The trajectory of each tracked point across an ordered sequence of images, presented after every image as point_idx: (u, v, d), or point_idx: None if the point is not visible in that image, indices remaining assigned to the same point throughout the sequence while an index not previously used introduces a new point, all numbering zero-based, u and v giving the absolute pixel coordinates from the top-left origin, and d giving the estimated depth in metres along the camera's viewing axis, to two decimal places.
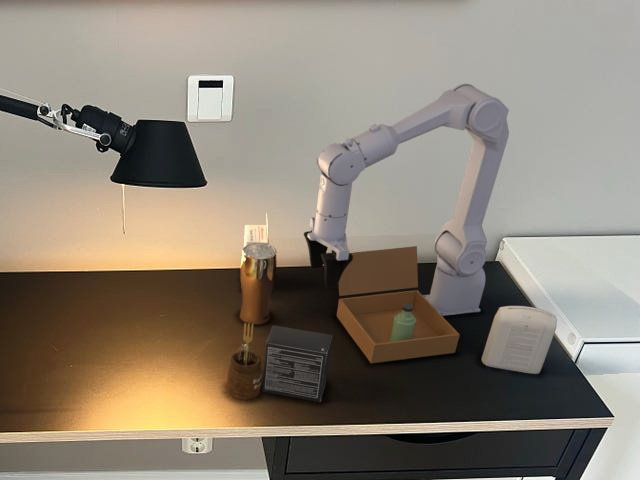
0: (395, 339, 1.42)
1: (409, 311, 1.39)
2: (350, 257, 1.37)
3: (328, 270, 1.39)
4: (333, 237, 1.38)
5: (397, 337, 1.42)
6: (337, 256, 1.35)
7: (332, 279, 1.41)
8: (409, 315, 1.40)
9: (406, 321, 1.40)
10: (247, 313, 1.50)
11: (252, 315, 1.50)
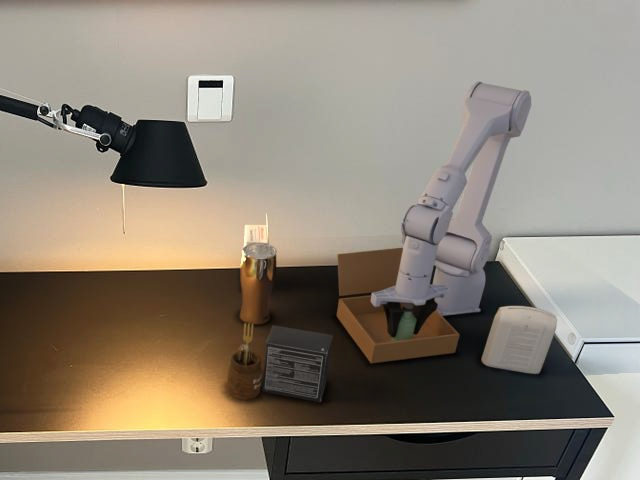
0: (395, 339, 1.42)
1: (409, 311, 1.39)
2: None
3: None
4: None
5: (397, 337, 1.42)
6: (446, 295, 1.39)
7: None
8: (409, 315, 1.40)
9: (406, 321, 1.40)
10: (247, 313, 1.50)
11: (252, 315, 1.50)
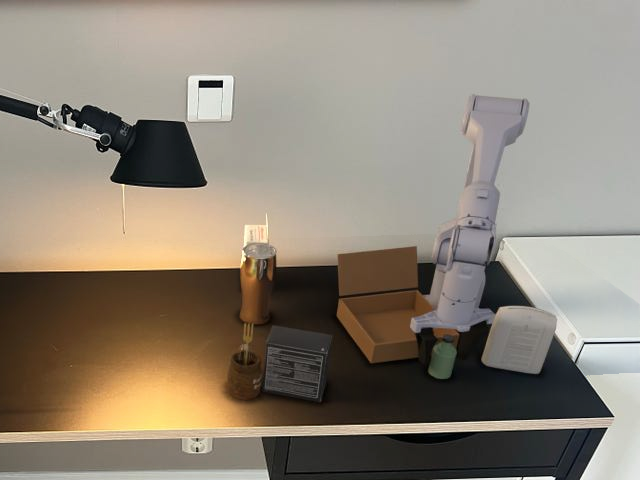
0: (434, 371, 1.35)
1: (450, 342, 1.31)
2: None
3: None
4: None
5: (436, 369, 1.34)
6: (491, 320, 1.30)
7: None
8: (449, 346, 1.32)
9: (446, 353, 1.32)
10: (247, 313, 1.50)
11: (252, 315, 1.50)
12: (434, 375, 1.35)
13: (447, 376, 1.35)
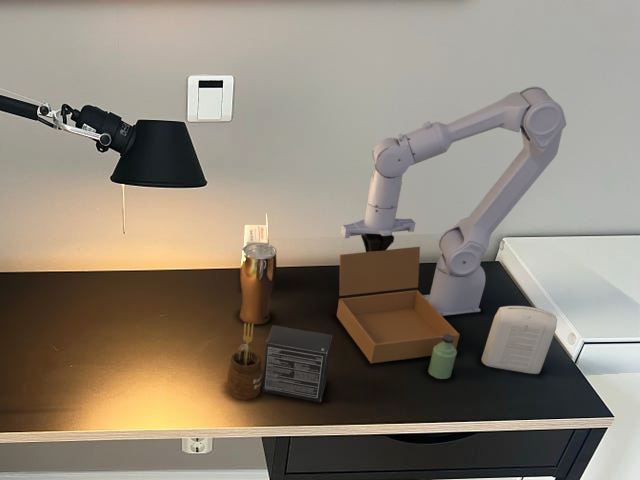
0: (434, 371, 1.35)
1: (450, 342, 1.31)
2: None
3: None
4: None
5: (436, 369, 1.34)
6: (412, 228, 1.48)
7: None
8: (449, 346, 1.32)
9: (446, 353, 1.32)
10: (247, 313, 1.50)
11: (252, 315, 1.50)
12: (434, 375, 1.35)
13: (447, 376, 1.35)
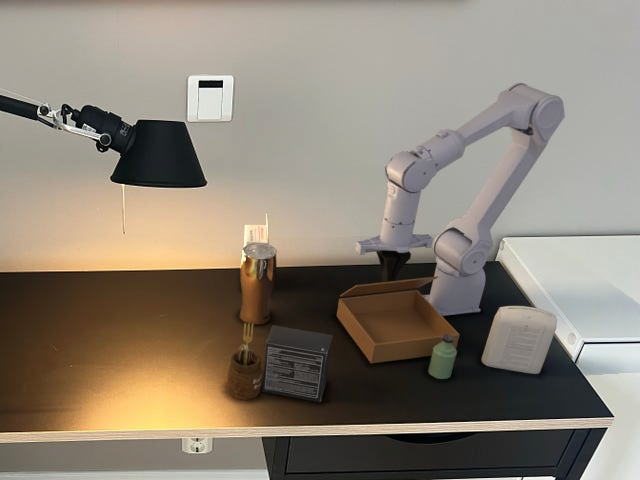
0: (434, 371, 1.35)
1: (450, 342, 1.31)
2: None
3: None
4: None
5: (436, 369, 1.34)
6: (430, 244, 1.42)
7: None
8: (449, 346, 1.32)
9: (446, 353, 1.32)
10: (247, 313, 1.50)
11: (252, 315, 1.50)
12: (434, 375, 1.35)
13: (447, 376, 1.35)
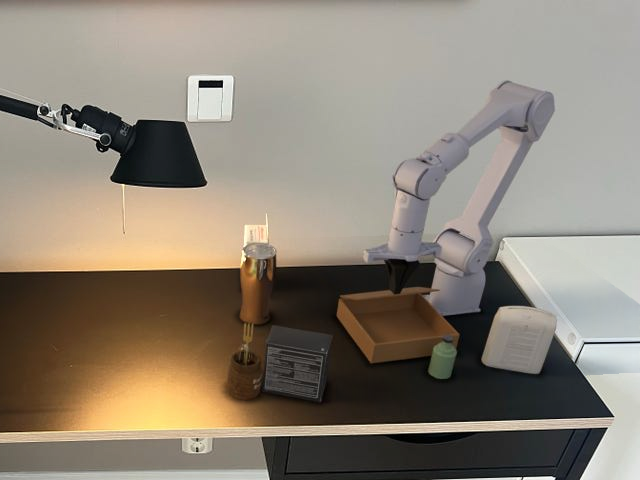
0: (434, 371, 1.35)
1: (450, 342, 1.31)
2: None
3: None
4: None
5: (436, 369, 1.34)
6: (438, 253, 1.40)
7: None
8: (449, 346, 1.32)
9: (446, 353, 1.32)
10: (247, 313, 1.50)
11: (252, 315, 1.50)
12: (434, 375, 1.35)
13: (447, 376, 1.35)
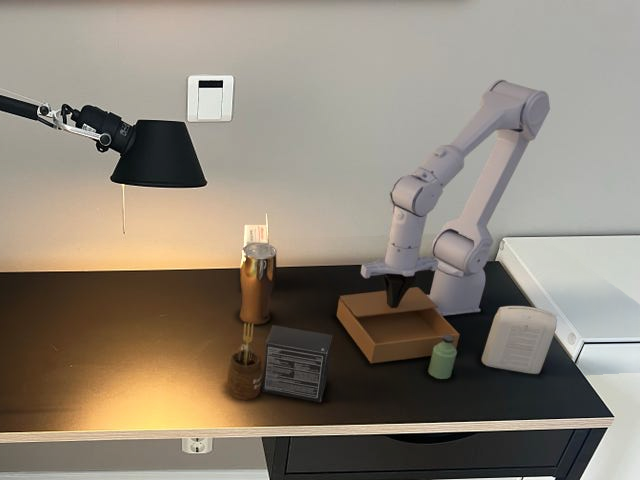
0: (434, 371, 1.35)
1: (450, 342, 1.31)
2: None
3: None
4: None
5: (436, 369, 1.34)
6: (435, 267, 1.41)
7: None
8: (449, 346, 1.32)
9: (446, 353, 1.32)
10: (247, 313, 1.50)
11: (252, 315, 1.50)
12: (434, 375, 1.35)
13: (447, 376, 1.35)
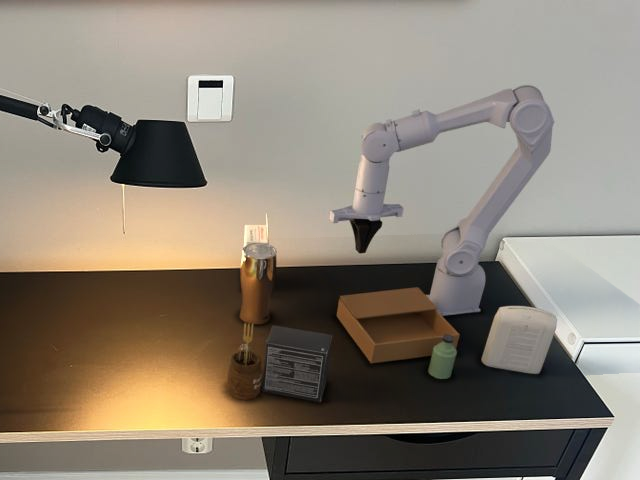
0: (434, 371, 1.35)
1: (450, 342, 1.31)
2: None
3: None
4: None
5: (436, 369, 1.34)
6: (400, 213, 1.49)
7: None
8: (449, 346, 1.32)
9: (446, 353, 1.32)
10: (247, 313, 1.50)
11: (252, 315, 1.50)
12: (434, 375, 1.35)
13: (447, 376, 1.35)
